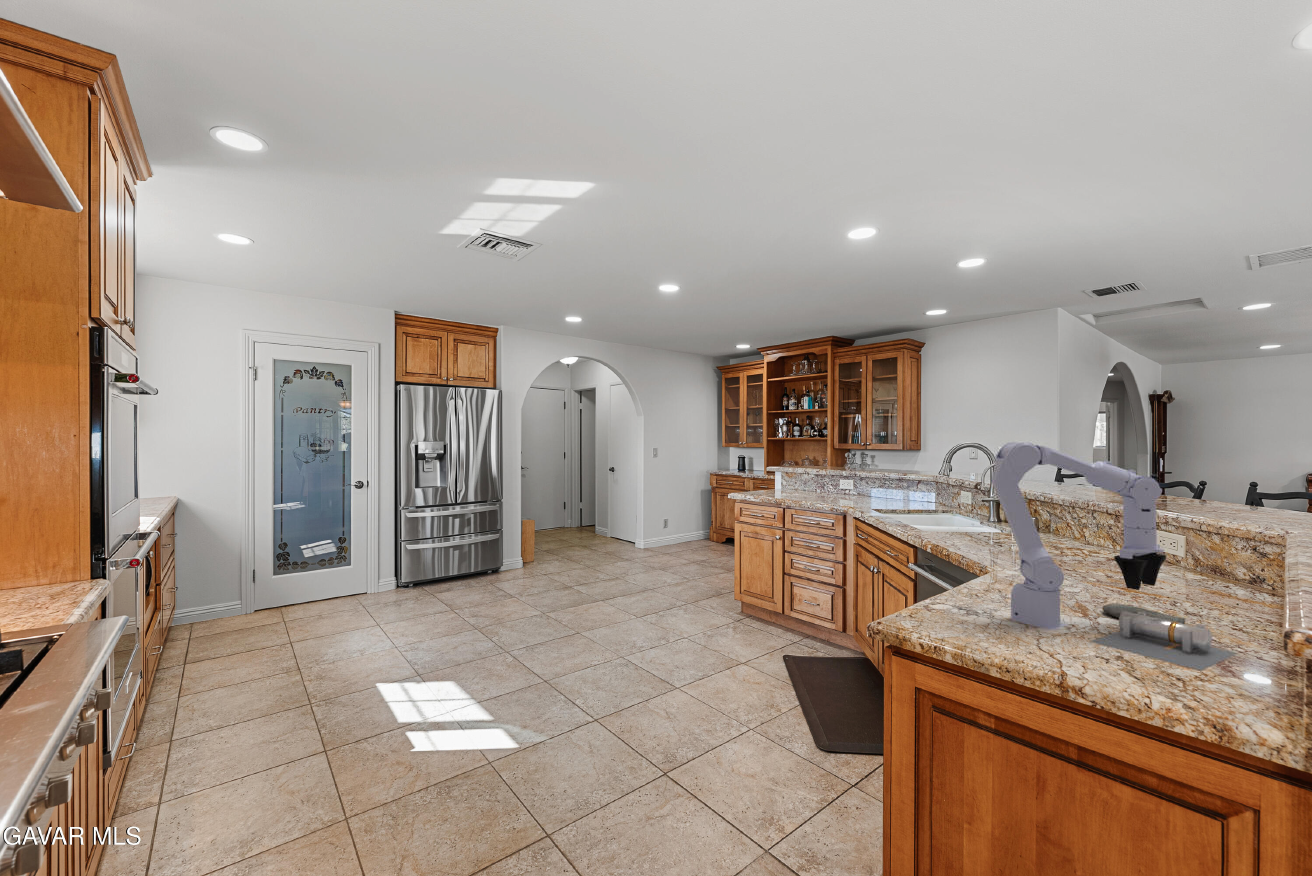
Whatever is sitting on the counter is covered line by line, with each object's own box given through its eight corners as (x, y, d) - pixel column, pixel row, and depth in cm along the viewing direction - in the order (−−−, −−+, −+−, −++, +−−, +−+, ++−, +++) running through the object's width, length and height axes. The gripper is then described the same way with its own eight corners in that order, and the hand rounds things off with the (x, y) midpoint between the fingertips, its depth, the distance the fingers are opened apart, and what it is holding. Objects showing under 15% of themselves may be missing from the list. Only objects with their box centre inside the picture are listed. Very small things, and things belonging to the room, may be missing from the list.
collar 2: (1182, 652, 113) (1182, 630, 113) (1198, 645, 117) (1198, 623, 117) (1190, 654, 112) (1189, 631, 112) (1206, 647, 116) (1206, 625, 116)
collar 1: (1123, 637, 122) (1122, 617, 122) (1139, 631, 126) (1139, 611, 126) (1129, 639, 121) (1129, 618, 121) (1146, 633, 125) (1146, 613, 125)
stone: (1097, 618, 137) (1180, 642, 126) (1099, 603, 136) (1183, 626, 125) (1105, 604, 144) (1184, 626, 133) (1108, 590, 144) (1187, 611, 133)
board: (1089, 644, 120) (1089, 641, 120) (1129, 630, 128) (1129, 627, 128) (1201, 673, 104) (1201, 670, 104) (1237, 656, 112) (1237, 653, 112)
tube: (1119, 633, 124) (1117, 614, 123) (1129, 627, 126) (1127, 608, 125) (1204, 654, 111) (1202, 633, 111) (1212, 646, 113) (1210, 626, 113)
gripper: (1147, 532, 120) (1148, 594, 120) (1176, 527, 127) (1177, 586, 127) (1108, 528, 126) (1109, 587, 126) (1137, 523, 133) (1139, 580, 133)
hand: (1140, 586), depth 127 cm, fingers open, 7 cm apart
